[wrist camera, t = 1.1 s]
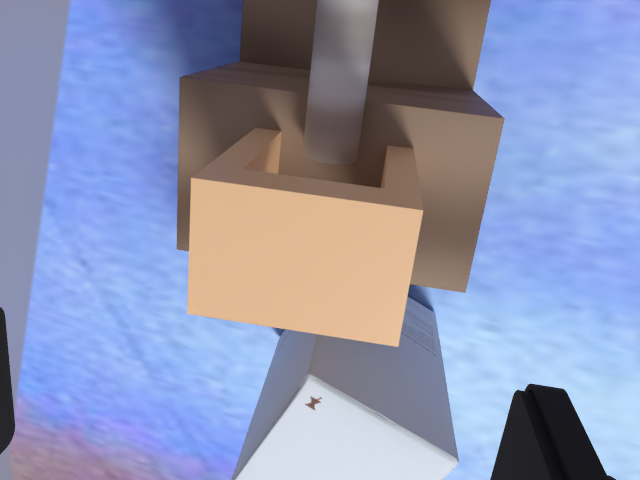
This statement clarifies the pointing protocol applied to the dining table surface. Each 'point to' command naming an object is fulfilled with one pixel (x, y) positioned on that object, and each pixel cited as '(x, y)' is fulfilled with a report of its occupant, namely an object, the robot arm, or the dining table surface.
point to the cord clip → (303, 244)
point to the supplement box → (353, 409)
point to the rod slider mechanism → (358, 109)
